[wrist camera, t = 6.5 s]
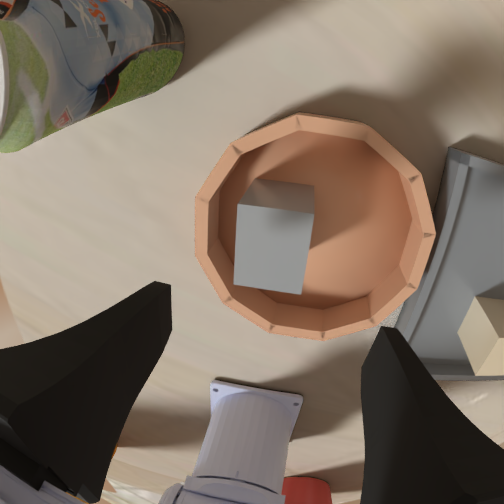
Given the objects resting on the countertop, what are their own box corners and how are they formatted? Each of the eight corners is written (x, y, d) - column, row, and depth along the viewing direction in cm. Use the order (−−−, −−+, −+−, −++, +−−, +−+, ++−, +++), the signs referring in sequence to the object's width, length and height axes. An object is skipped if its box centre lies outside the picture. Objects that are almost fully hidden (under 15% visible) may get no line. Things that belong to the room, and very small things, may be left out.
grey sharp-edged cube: (304, 251, 19) (300, 294, 15) (250, 244, 19) (233, 284, 15) (314, 185, 17) (314, 214, 13) (255, 178, 17) (237, 204, 14)
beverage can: (205, 8, 14) (60, -73, 3) (173, 127, 17) (9, 189, 7) (113, 3, 14) (-46, -26, 3) (89, 110, 18) (-72, 156, 7)
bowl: (386, 321, 21) (392, 348, 18) (208, 294, 22) (196, 319, 20) (437, 139, 15) (457, 148, 12) (215, 104, 16) (198, 107, 14)
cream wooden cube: (513, 301, 18) (538, 339, 14) (495, 335, 19) (515, 374, 15) (474, 296, 18) (498, 337, 14) (457, 332, 19) (475, 375, 16)
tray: (503, 365, 21) (509, 379, 19) (379, 360, 22) (382, 377, 21) (580, 197, 13) (594, 206, 12) (448, 146, 15) (461, 152, 13)
